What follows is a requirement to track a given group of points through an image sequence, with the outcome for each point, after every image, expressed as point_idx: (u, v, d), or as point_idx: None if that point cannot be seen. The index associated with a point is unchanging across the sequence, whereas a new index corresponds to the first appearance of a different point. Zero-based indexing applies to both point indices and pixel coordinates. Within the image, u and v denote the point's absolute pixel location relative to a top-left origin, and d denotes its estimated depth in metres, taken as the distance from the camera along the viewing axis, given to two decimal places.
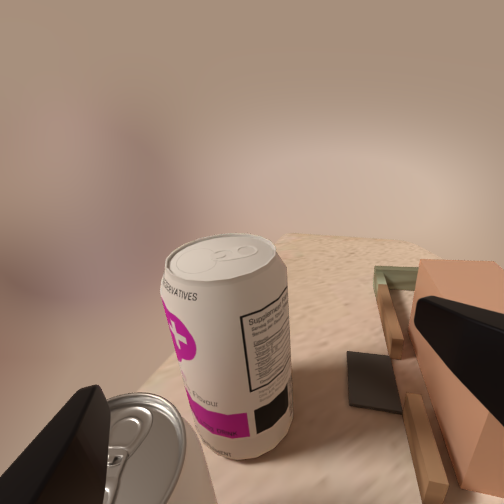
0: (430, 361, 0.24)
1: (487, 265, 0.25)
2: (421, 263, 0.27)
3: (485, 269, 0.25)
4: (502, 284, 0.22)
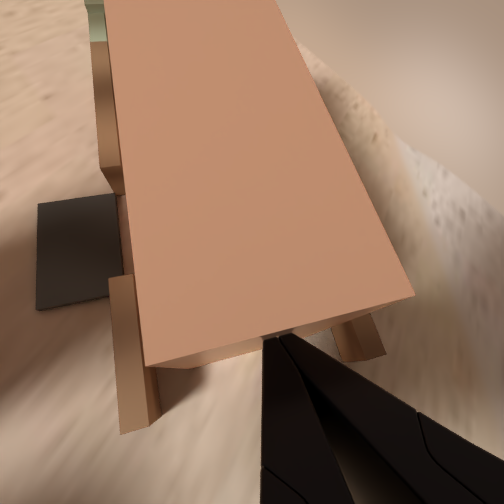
0: None
1: None
2: None
3: None
4: (249, 12, 0.10)
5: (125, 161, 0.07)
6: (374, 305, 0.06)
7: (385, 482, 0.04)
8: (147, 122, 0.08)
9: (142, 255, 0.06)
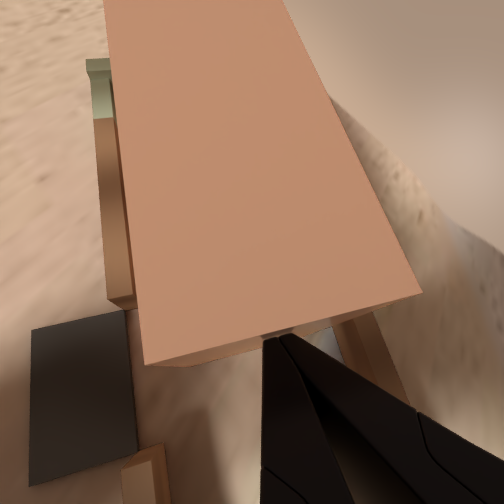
0: None
1: None
2: None
3: None
4: (251, 3, 0.10)
5: (124, 154, 0.07)
6: (380, 303, 0.06)
7: (385, 482, 0.04)
8: (147, 115, 0.07)
9: (141, 251, 0.06)
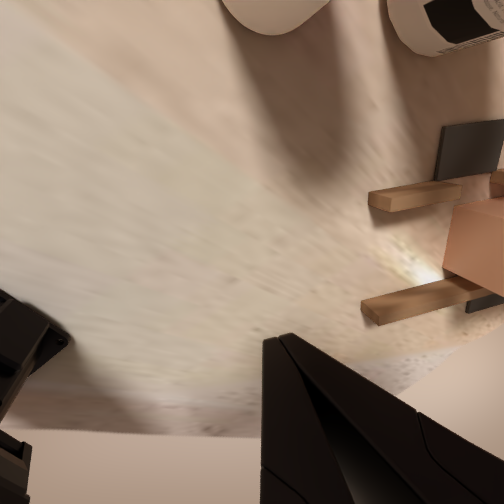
0: None
1: None
2: None
3: None
4: None
5: None
6: None
7: (385, 482, 0.04)
8: None
9: None
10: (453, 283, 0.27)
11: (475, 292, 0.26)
